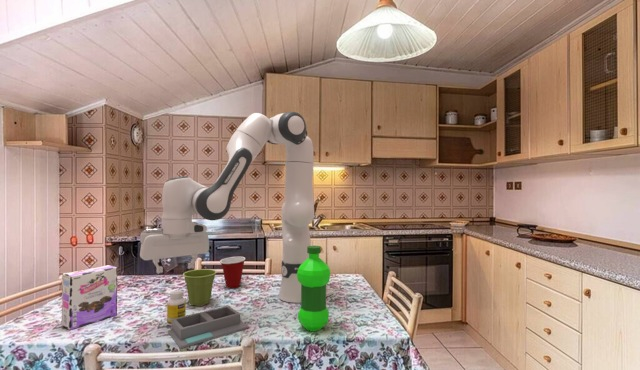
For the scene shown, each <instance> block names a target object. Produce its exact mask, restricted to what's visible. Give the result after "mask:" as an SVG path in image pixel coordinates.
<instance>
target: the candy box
mask: <svg viewBox="0 0 640 370" xmlns="http://www.w3.org/2000/svg"><path fill="white" fill-rule="evenodd" d="M61 277H62V280H61V282H62V284H61V286H62V289H61V326H62V327H64V328H66V330H73V329H78V328H81V327H83V326H87V325H89V324H94V323H97V322H100V321H103V320H106V319H108V318H113V317H115V316H117V315H118V267H117V266H113V265H109V264H108V265H107V264H106V265H102V266H98V267H92V268H87V269H83V270H77V271H72V272H71V271H70V272H64V273H62V275H61Z"/></svg>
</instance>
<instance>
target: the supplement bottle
mask: <svg viewBox="0 0 640 370" xmlns="http://www.w3.org/2000/svg"><path fill="white" fill-rule="evenodd" d="M184 294H185V293H184V290H180V289H179V290H172V291H170V292H169V297H170V298H169V299H168V300H167V305H166V309H167V310H166V324H167V325H168V326H169V327H171V319H175V318H179V317H183V316H187V315H186V310H187V308H186V307H187V306H186V305H187V304H186V303H187V301H186V298H185V297H184V296H185V295H184Z"/></svg>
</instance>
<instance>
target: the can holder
mask: <svg viewBox="0 0 640 370" xmlns="http://www.w3.org/2000/svg"><path fill="white" fill-rule="evenodd" d="M170 327H171V329H167V333H168V334H169V336H170V337H171V338H172V339H173V341H174V342H175V344H176V345H177V346H178V347H179V348H180V349H184V348H187V347H191V346H194V345H198V344H200V343H201V344H202V343H204V342H208V341H211V340H214V339H218V338H220V337H224V336H227V335H228V336H229V335H230V334H234V333H237V332H240V331H245V330H246V329H247V330H249V327H250V326H249V325H248V324H246V323H244V322H243V321H242V320H241V313H240V312H238V311H237V310H235V309H234V308H232V307H231V306H230V305H226V306H221V307H217V308H212V309H209V310H204V311H200V312H196V313H193V314H189V315H185V316H183V317H179V318H175V319H171V326H170Z"/></svg>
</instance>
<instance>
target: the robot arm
mask: <svg viewBox="0 0 640 370" xmlns="http://www.w3.org/2000/svg"><path fill="white" fill-rule="evenodd" d="M266 143H269V144H272V145H283V146H284V148H285V151H286V156H285V169H284V198H285V199H284V200H285V201H284V202H283V203H282V204H281V205H282V206H281V209H280V213H281V215H280V217H281V234H282V259H281V260H282V261H281V269H280V270H281V283H280V287H279V288H280V290H279V293H278V297H277V298H278V299H279V300H281V301H283V302H287V303H295V304H296V303H299V304H301V284H300V282H299V281H298V278H297V271H298V269H299V267H300V265H301V264H302V263H303V262H304V261H305V260H307V259H308V258H309V253H307V247H308V246H312V244H311V243H312V242H311V235H310V224H311V223H312V222H313V221H314V218H315V206H314V205H315V204H314V203H315V199H314V185H313V184H314V182H313V181H314V159H315V158H314V155H315V153H314V145H313V140H312V138H310V137H309V136H308V130H307V124H306V121H305V119H304V116H302V114H301V113H299V112H295V111H287V112H286V111H285V112H283V113H277V114H275V116H274V115H273V116H272V117H268V116H267V115H264V114H262V113H260V112H253V113H251V114H250V115H249V116H247V117H246V118H245V119H244V121H242V122H241V124H239V126H238V127H237V129H235V131H233V134H232V135H231V137H230V139H229V141H228V143H227V145H226V152H227V155H228V161H227V164H226V165H225V167H224V168H223V170H222V172H221V173H220V175H219V177H218V178H217V180H215V182H214V183H213V184H212V185H211V186H206V185H204V184H201V183H199V182H197V181H195V180H193V178H192V177H190V176H186V175H185V176H177V177H170V178H169V179H167V180H166V181H165V182H164V185H163V188H162V194H161V195H162V196H161V206H162V215H161V227H158V228H146V229H145V230H143V231H142V232H141V233H140V234H139V241H140V251H139V257H140V259H142V260H143V261H152V263H153V264H154V266H155V267H156V271H155V272H156V274H158V275H159V274H163V273H164V267H163V266H162V265H159V263H160V260H162V259H170V258H178V257H179V258H180V257H187V256H191V260H190V262H187V269H189V270H195V263H196V262H197V260H198V257H199V256H198V255H205V254H208V253H209V251H210V239H209V235H208V234H207V231H208V227H207V226H206V225H205V224H201V223H199V222H197V221H192V219H193V215H199V216H200V217H202V218H203V219H205V220H207V221H218V220H220V219H222V218H224V217H225V216H226V215H228V212H229V211H230V208H231V205H232V199H233V196H234V193H235V191H236V189H237V188H238V186H239V184H240V183H241V181H242V179H243V177H244V176H245V174H246V172H247V171H248V169H249V168H250V166H251V164H252V163H253V162H254V161H255V159H256V158H257V156H258V155H259V154H260V152H261V150H262V149H263V147H264V146H265V144H266ZM331 295H334V290H333V289H332V288H330V287H329V286H328V283H327V284H326V298H327V297H329V296H331Z"/></svg>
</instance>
